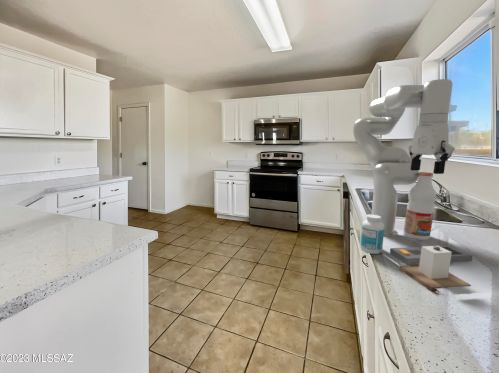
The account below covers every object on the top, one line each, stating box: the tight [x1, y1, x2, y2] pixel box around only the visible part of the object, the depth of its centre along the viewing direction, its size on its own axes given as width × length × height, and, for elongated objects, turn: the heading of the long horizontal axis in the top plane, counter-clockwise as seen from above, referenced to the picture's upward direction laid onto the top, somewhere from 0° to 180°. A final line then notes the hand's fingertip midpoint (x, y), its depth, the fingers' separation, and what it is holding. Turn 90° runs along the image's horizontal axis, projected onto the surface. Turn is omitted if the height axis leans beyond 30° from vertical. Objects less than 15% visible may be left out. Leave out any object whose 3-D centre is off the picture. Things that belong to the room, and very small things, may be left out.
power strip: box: [389, 244, 474, 265], centre depth 85 cm, size 8×24×4 cm, turn 96°
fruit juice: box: [403, 171, 437, 241], centre depth 103 cm, size 9×9×28 cm
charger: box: [418, 245, 452, 279], centre depth 73 cm, size 4×6×9 cm
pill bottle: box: [359, 214, 385, 255], centre depth 91 cm, size 8×7×14 cm
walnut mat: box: [399, 264, 471, 292], centre depth 74 cm, size 12×12×1 cm
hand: (426, 171), depth 84 cm, fingers open, 9 cm apart
